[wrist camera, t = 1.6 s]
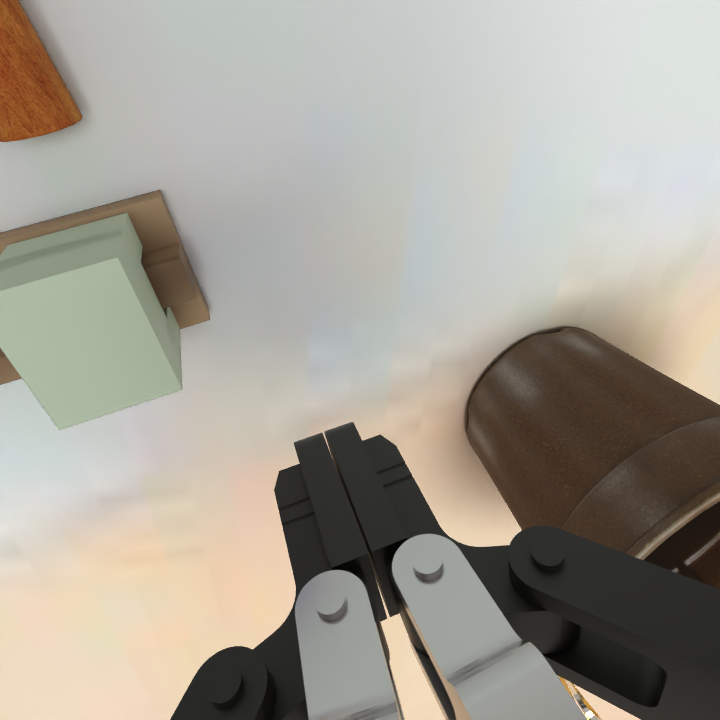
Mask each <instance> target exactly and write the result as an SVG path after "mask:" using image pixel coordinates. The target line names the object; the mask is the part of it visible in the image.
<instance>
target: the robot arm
mask: <svg viewBox="0 0 720 720" xmlns="http://www.w3.org/2000/svg"><path fill="white" fill-rule="evenodd" d="M325 436H326V439H327V442H328V446H329V449H330V452H331V454H330V452H329V449H328V446H327V444H326V441H325V438H324V436H323V433H319V434H317V435H314V436H311V437H308V438H305V439H302V440H300V441H297V442H294V446H295V449H296V452H297V456H298V459H299V462H300V464H298V465H295V466H292V467H289V468H286V469H284V470H281V471H279V474H278V478H277V482H276V485H275V489H274V491H275V496H276V500H277V504H278V509H279V513H280V518H281V522H282V525H283V531H284V535H285V540H286V544H287V548H288V553H289V557H290V561H291V566H292V570H293V575H294V579H295V584H296V597H295V602H294V605H293V608H292V610H291V612H290V614H289V616H288V617H287V619H286V620H285V622H284V623H283V624H282V625H281V626H280V627H279V628H278V629H277V630H276V631H275V632H274V633H273V634H272V635H270V636H269V637H268V638H267V639H265V640H264V641H263V642H262V643H260V644H259V645H258V646H257V647H255V648H254V649H253V650H252V649H250V648H247V647H242V646H235V647H229V648H226V649H223V650H221V651H219V652H217V653H216V654H214V655H213V656H212V657H210V658H209V659H208V660H207V661H206V662H205V663H204V664H203V665H202V666H201V667H200V669H199V670H198V672H197V673H196V675H195V676H194V678H193V680H192V682H191V683H190V685H189V687H188V689H187V691H186V692H185V694H184V696H183V698H182V700H181V701H180V703H179V705H178V707H177V709H176V710H175V712H174V714H173V716H172V718H171V719H170V720H405V718H404V715H403V711H402V707H401V704H400V700H399V696H398V692H397V689H396V685H395V681H394V678H393V674H392V670H391V666H390V663H389V660H390V655H389V649H388V645H387V642H386V639H385V636H384V632H383V629H382V626H381V623H380V621H383V620H385V619H387V616H386V613H385V609H384V606H383V602H382V599H381V595H380V592H379V589H380V591H381V594H382V597H383V599H384V602H385V605H386V607H387V610H388V613H389V615H390V617H392V616H394V615H397V614H399V613H400V615H401V618H402V620H403V623H404V625H405V628H406V630H407V633H408V636H409V639H410V643H411V647H412V650H413V652H414V654H415V656H416V659H417V661H418V663H419V665H420V667H421V669H422V671H423V673H424V675H425V677H426V679H427V681H428V684H429V686H430V688H431V690H432V692H433V694H434V696H435V698H436V700H437V702H438V704H439V706H440V709H441V711H442V713H443V715H444V717H445V719H446V720H587V719H586V717H585V716H584V714H583V713H582V711H581V710H580V708H579V707H578V706H577V704H576V703H575V701H574V700H573V698H572V697H571V695H570V694H569V692H568V691H567V690H566V688H565V687H564V685H563V684H562V682H561V681H560V679H559V678H558V676H560V677H562V678H564V679H566V680H567V681H569V682H571V683H573V684H575V685H577V686H579V687H581V688H583V689H584V690H586V691H588V692H590V693H592V694H594V695H596V696H598V697H600V698H601V699H603V700H605V701H607V702H609V703H611V704H613V705H615V706H617V707H618V708H620V709H622V710H624V711H626V712H628V713H630V714H632V715H634V716H635V717H637V718H639V719H641V720H720V589H718V588H716V587H713V586H710V585H708V584H705V583H702V582H700V581H697V580H694V579H692V578H689V577H686V576H684V575H681V574H678V573H676V572H673V571H670V570H668V569H665V568H662V567H660V566H657V565H655V564H652V563H649V562H647V561H644V560H641V559H639V558H636V557H633V556H631V555H628V554H625V553H623V552H620V551H617V550H615V549H612V548H609V547H607V546H604V545H601V544H599V543H596V542H593V541H591V540H588V539H586V538H583V537H580V536H578V535H575V534H572V533H570V532H567V531H564V530H562V529H559V528H556V527H552V526H541V525H540V526H533V527H529V528H526V529H524V530H522V531H521V532H519V533H518V534H517V535H516V536H515V537H514V538H513V540H512V541H511V543H510V545H506V546H492V547H473V546H468V545H464V544H461V543H459V542H457V541H455V540H453V539H452V538H450V537H449V536H448V535H447V534H446V533H445V532H444V531H443V530H442V529H441V527H440V525H439V524H438V522H437V520H436V518H435V516H434V515H433V513H432V511H431V509H430V507H429V505H428V504H427V502H426V500H425V498H424V496H423V494H422V493H421V491H420V489H419V487H418V485H417V483H416V482H415V480H414V478H413V477H412V474H411V472H410V471H409V469H408V467H407V465H406V464H405V461H404V460H403V458H402V456H401V454H400V452H399V450H398V449H397V447H396V445H394V444H393V443H391V442H390V441H389V440H387V439H386V438H384V437H383V436H381V435H378V436H375V437H372V438H369V439H367V440H364V441H362V440H361V438H360V435H359V433H358V431H357V429H356V427H355V425H354V423H353V422H350V423H347V424H344V425H342V426H339V427H336V428H333V429H330V430H328V431H325ZM331 456H332V457H331ZM376 581H377V582H376ZM377 583H378V585H377ZM378 586H379V589H378ZM557 675H558V676H557Z"/></svg>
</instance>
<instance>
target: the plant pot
mask: <svg viewBox="0 0 720 720" xmlns="http://www.w3.org/2000/svg"><path fill="white" fill-rule="evenodd" d="M468 415H469V422H468V428H467V429H466V432H467V436H468V439H469V442H470V444H471V446H472V448H473V449H474V451H475V452H476V454H477V455H478V457H479V458H480V460H481V462H482V463H483V465H484V467H485V468H486V470H487V472H488V473H489V475H490V477H491V478H492V480H493V482H494V483H495V485H496V487H497V488H498V490H499V492H500V494H501V495H502V497H503V499H504V500H505V502H506V504H507V505H508V507H509V509H510V510H511V512H512V514H513V515H514V517H515V519H516V520H517V522H518V524H519V526H520V527H521V529H522V530H524V529H526V528H529V527H533V526H540V525H541V526H552V527H556V528H559V529H562V530H564V531H567V532H570V533H572V534H575V535H578V536H580V537H583V538H586V539H588V540H591V541H593V542H596V543H599V544H601V545H604V546H607V547H609V548H612V549H615V550H617V551H620V552H623V553H625V554H628V555H631V556H633V557H636V558H639V559H641V560H644V561H647V562H649V563H652V564H655V565H657V566H660V567H662V568H665V569H668V570H670V571H673V572H676V573H678V574H681V575H684V576H686V577H689V578H692V579H694V580H697V581H700V582H702V583H705V584H708V585H710V586H713V587H716V588H718V589H720V405H719V404H717V403H715V402H713V401H711V400H709V399H708V398H706V397H704V396H702V395H700V394H698V393H696V392H695V391H693V390H691V389H689V388H687V387H686V386H684V385H682V384H680V383H678V382H677V381H675V380H673V379H671V378H669V377H668V376H666V375H664V374H662V373H660V372H659V371H657V370H655V369H653V368H651V367H650V366H648V365H646V364H644V363H643V362H641V361H639V360H637V359H636V358H634V357H632V356H630V355H629V354H627V353H625V352H623V351H622V350H620V349H618V348H616V347H614V346H613V345H611V344H609V343H607V342H606V341H604V340H602V339H601V338H599V337H598V336H596V335H595V334H593V333H591V332H588V331H586V330H582V329H578V328H562V329H561V330H560V331H559V332H555V333H548V334H536V335H534V336H531V337H529V338H528V339H526V340H524V341H522V342H521V343H519V344H517V345H516V346H514V347H513V348H512V349H510V350H509V351H508V352H506V353H505V354H504V355H503V356H502V357H501V358H500V359H499V360H498V361H497V362H496V363H495V364H494V365H493V366H492V367H491V368H490V369H489V370H488V372H487V373H486V374H485V375H484V377H483V378H482V380H481V381H480V383H479V384H478V386H477V388H476V389H475V391H474V393H473V395H472V398H471V400H470V402H469V406H468Z"/></svg>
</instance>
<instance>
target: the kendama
mask: <svg viewBox="0 0 720 720" xmlns="http://www.w3.org/2000/svg"><path fill="white" fill-rule="evenodd" d="M81 118H82V115H81V113H80V111H79V109H78V108H77V106H76V104H75V102H74V100H73V99H72V97H71V95H70V93H69V91H68V90H67V88H66V86H65V84H64V82H63V81H62V79H61V77H60V75H59V73H58V72H57V70H56V68H55V66H54V64H53V63H52V61H51V59H50V57H49V55H48V53H47V52H46V50H45V48H44V46H43V44H42V43H41V41H40V39H39V37H38V35H37V34H36V32H35V30H34V28H33V26H32V25H31V23H30V21H29V19H28V17H27V16H26V14H25V12H24V10H23V8H22V7H21V5H20V3H19V1H18V0H0V142H8V141H17V140H23V139H28V138H33V137H38V136H42V135H45V134H49V133H52V132H56V131H59V130H61V129H64V128H66V127H69V126H71V125H74V124H75V123H77V122H78V121H80V120H81Z"/></svg>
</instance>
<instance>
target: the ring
mask: <svg viewBox="0 0 720 720" xmlns="http://www.w3.org/2000/svg"><path fill="white" fill-rule="evenodd" d="M559 677H560V676H559ZM560 679H561V682H562V684H563V685H564V687H565V688H566V690H567V691H568V692H569V694H570V695H571V697H572V698H573V696H574V698H575V699H576V701H577V702H578V704H579V706H580V707H581V709H582V711H583V712H584V714H585V716H586V718H587V720H602V719H601V718H600V717H599V715H598V714H597V713H596V712H595V711H594V709H593V708H592V707H591V706H590V705H589V704H588V702H587V701H586V700H585V699H584V697H583V696H582V695H581V694H580V692H579V691H578V690H577V688H576V687H575V685H574V684H573V683H571V682H569V681H567V680H566V679H564V678H562V677H560ZM571 693H572V694H573V696H572V694H571ZM574 698H573V700H574ZM574 701H575V700H574Z"/></svg>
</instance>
